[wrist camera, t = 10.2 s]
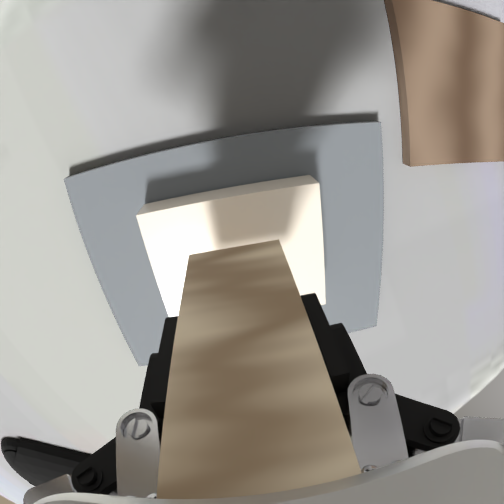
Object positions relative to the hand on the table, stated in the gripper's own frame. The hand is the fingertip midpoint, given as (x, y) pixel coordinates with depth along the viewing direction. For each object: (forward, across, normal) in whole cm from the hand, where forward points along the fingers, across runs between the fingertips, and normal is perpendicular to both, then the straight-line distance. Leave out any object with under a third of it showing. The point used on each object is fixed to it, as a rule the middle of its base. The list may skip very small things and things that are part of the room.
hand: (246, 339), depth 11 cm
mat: (+10, 0, +2) cm, 10 cm away
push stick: (+4, 0, 0) cm, 4 cm away
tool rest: (+10, -18, -9) cm, 22 cm away
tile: (+8, 0, +1) cm, 8 cm away
